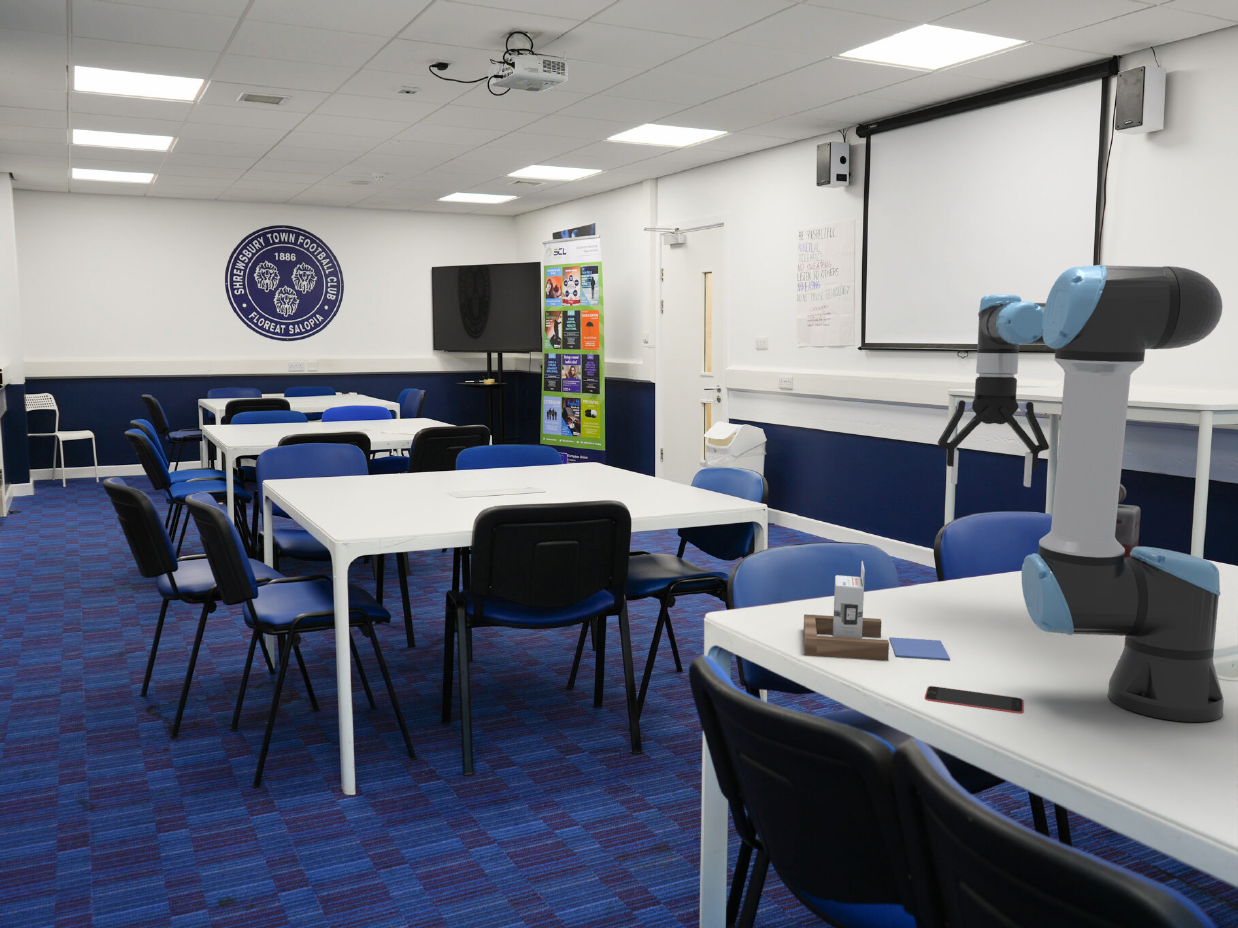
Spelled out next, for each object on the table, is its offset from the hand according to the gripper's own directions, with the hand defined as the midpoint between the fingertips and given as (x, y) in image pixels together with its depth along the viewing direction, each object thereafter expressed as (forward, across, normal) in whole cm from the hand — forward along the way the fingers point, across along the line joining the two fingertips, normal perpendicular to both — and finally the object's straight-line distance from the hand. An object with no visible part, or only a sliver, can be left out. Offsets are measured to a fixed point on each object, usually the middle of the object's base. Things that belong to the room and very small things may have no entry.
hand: (990, 484), depth 191 cm
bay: (+27, +28, +25) cm, 46 cm away
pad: (+27, +15, +24) cm, 39 cm away
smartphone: (+28, +9, +49) cm, 57 cm away
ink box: (+27, +27, +25) cm, 46 cm away
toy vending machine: (+27, -23, -2) cm, 35 cm away
